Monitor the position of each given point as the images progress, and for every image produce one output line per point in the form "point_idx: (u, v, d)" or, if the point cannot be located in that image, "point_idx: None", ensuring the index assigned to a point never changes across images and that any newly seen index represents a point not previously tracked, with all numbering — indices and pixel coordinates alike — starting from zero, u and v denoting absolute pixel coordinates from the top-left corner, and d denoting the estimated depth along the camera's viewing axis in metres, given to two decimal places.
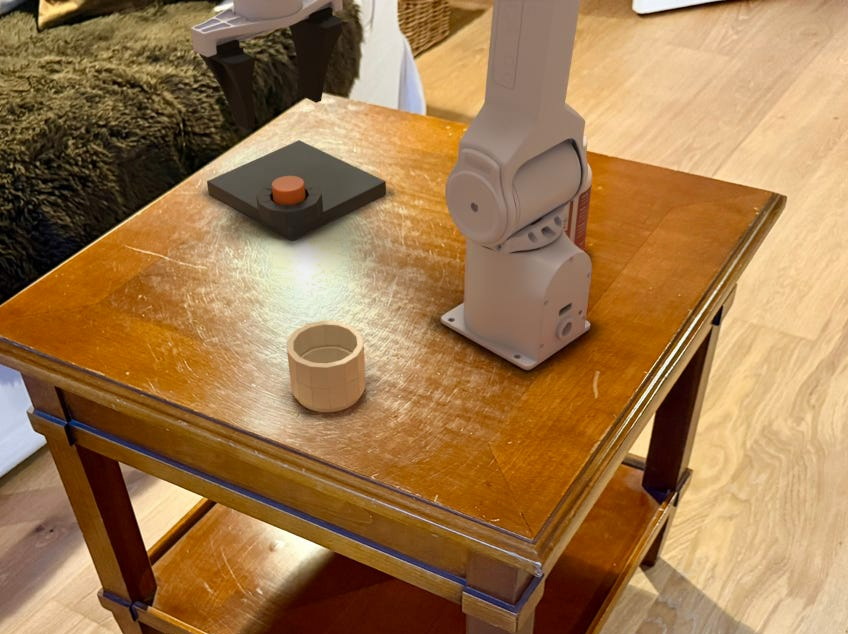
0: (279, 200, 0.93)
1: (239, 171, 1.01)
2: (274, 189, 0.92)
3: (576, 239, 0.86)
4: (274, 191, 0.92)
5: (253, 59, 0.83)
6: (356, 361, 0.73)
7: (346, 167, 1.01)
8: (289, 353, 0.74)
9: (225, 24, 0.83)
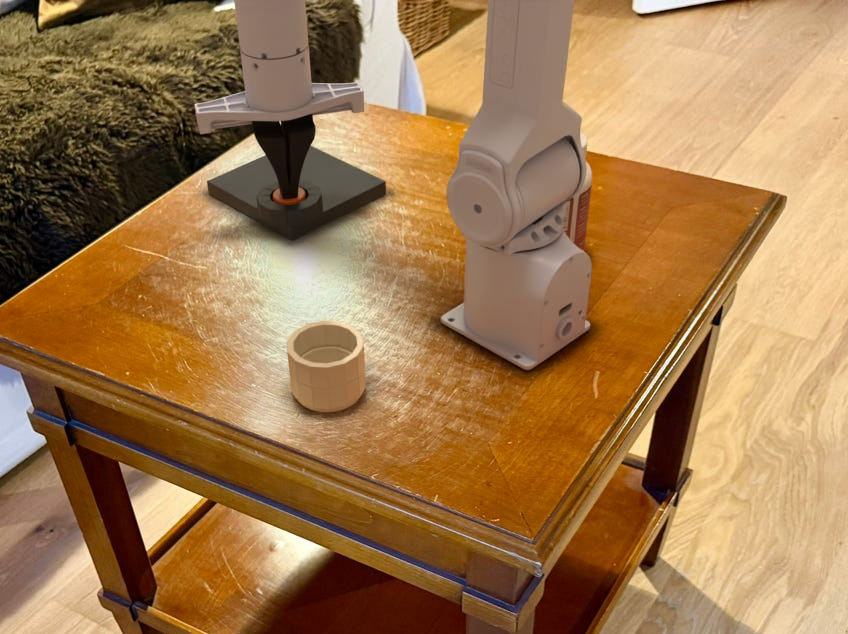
0: None
1: (239, 171, 1.01)
2: (275, 199, 0.93)
3: (576, 239, 0.86)
4: (275, 201, 0.93)
5: (282, 139, 0.87)
6: (356, 361, 0.73)
7: (346, 167, 1.01)
8: (289, 353, 0.74)
9: (225, 107, 0.86)
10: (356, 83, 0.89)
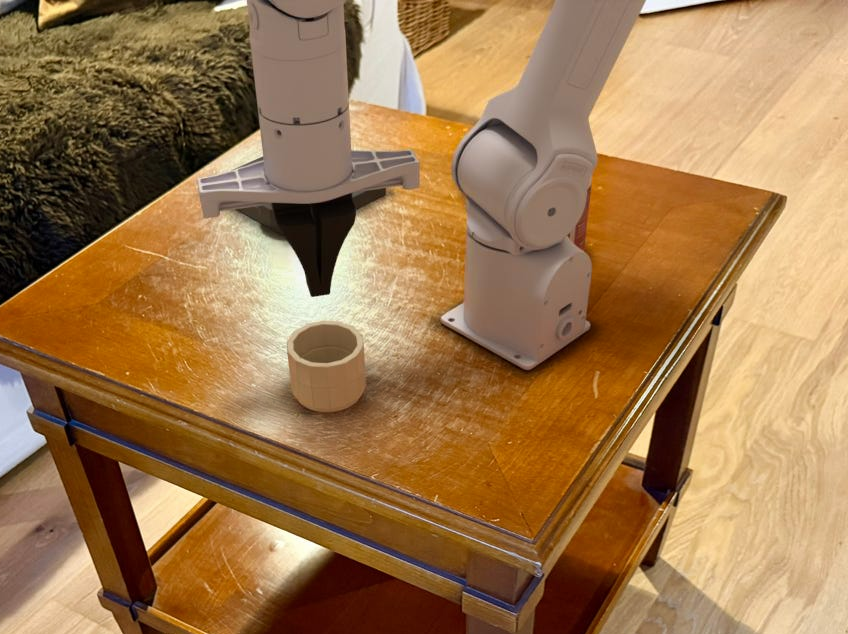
0: None
1: None
2: None
3: (576, 239, 0.86)
4: None
5: (311, 226, 0.66)
6: (356, 361, 0.73)
7: None
8: (289, 353, 0.74)
9: (238, 184, 0.65)
10: (409, 151, 0.68)
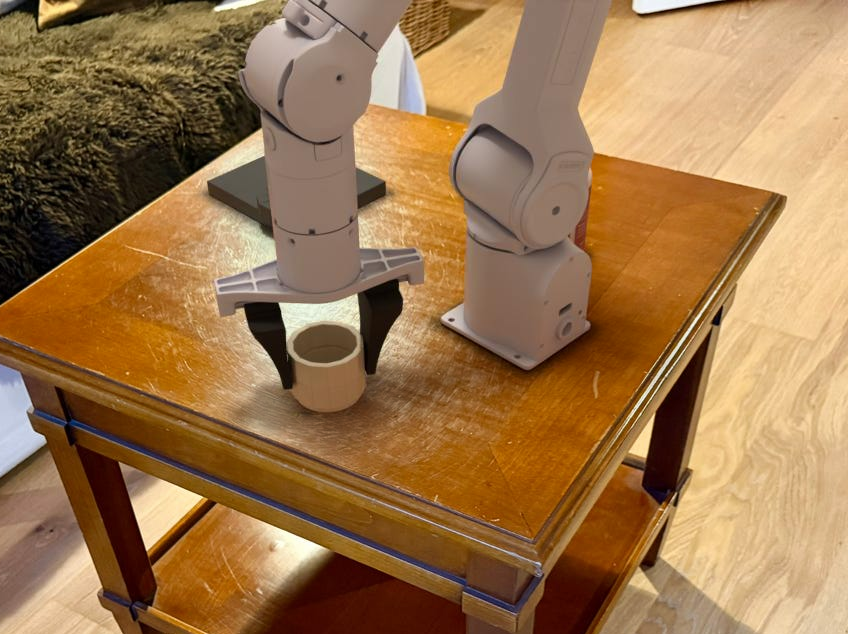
0: None
1: (239, 171, 1.01)
2: None
3: (576, 239, 0.86)
4: None
5: (282, 330, 0.69)
6: (356, 361, 0.73)
7: None
8: (289, 353, 0.74)
9: (252, 284, 0.69)
10: (414, 248, 0.72)
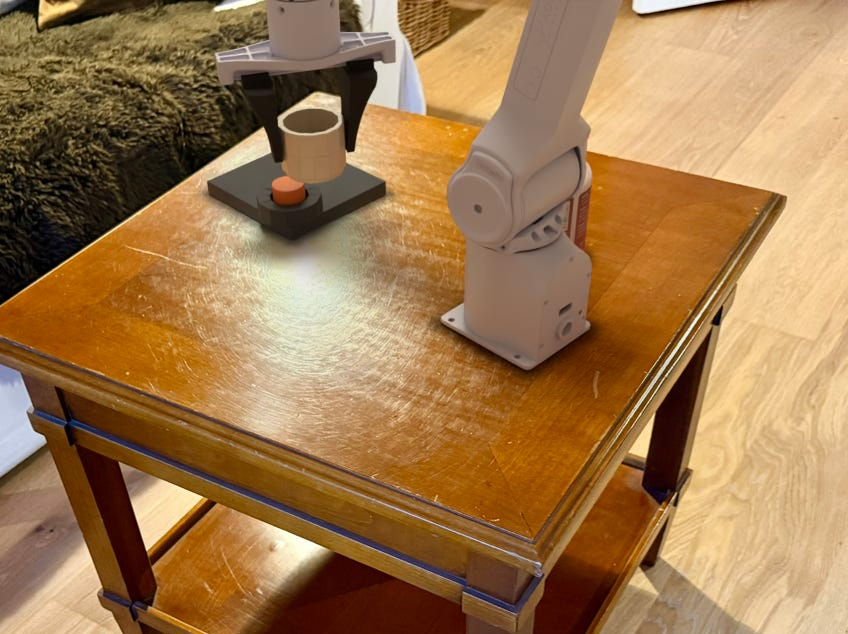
0: (279, 200, 0.93)
1: (239, 171, 1.01)
2: (274, 189, 0.92)
3: (576, 239, 0.86)
4: (274, 191, 0.92)
5: (273, 95, 0.81)
6: (337, 134, 0.85)
7: (346, 167, 1.01)
8: (279, 127, 0.85)
9: (248, 56, 0.81)
10: (387, 32, 0.83)
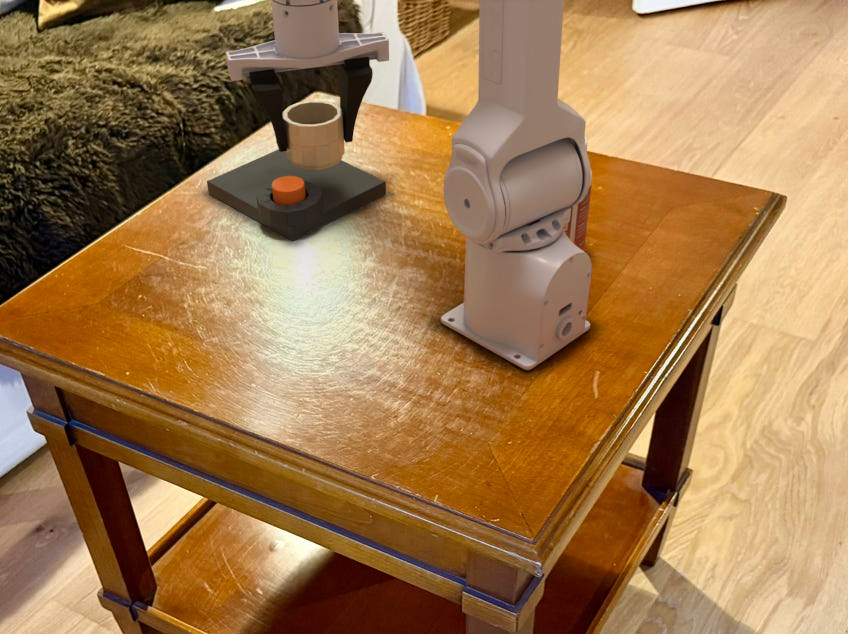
0: (279, 200, 0.93)
1: (239, 171, 1.01)
2: (274, 189, 0.92)
3: (576, 239, 0.86)
4: (274, 191, 0.92)
5: (278, 90, 0.90)
6: (336, 125, 0.94)
7: (346, 167, 1.01)
8: (284, 119, 0.94)
9: (256, 55, 0.90)
10: (381, 33, 0.92)
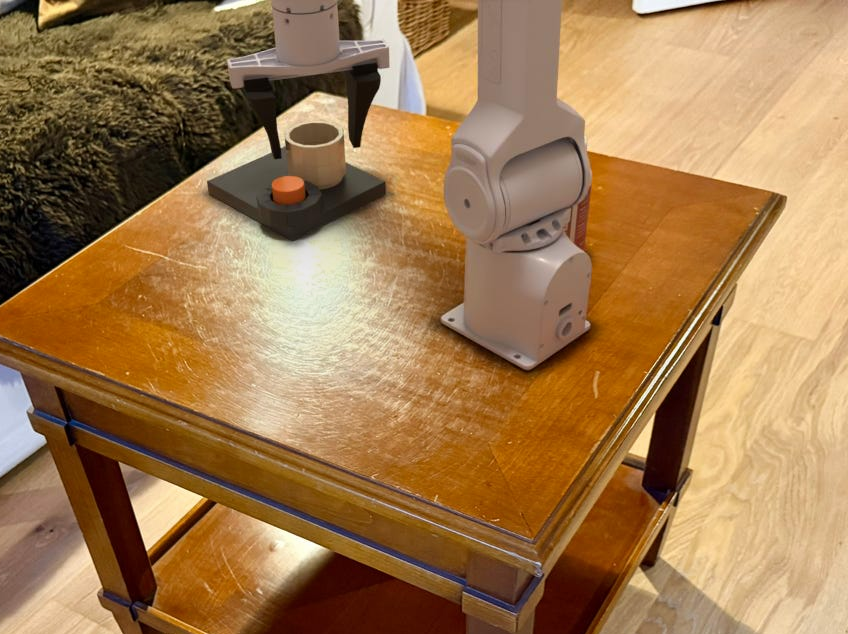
0: (279, 200, 0.93)
1: (239, 171, 1.01)
2: (274, 189, 0.92)
3: (576, 239, 0.86)
4: (274, 191, 0.92)
5: (272, 98, 0.90)
6: (338, 145, 0.95)
7: (346, 167, 1.01)
8: (286, 140, 0.96)
9: (257, 62, 0.90)
10: (381, 40, 0.93)
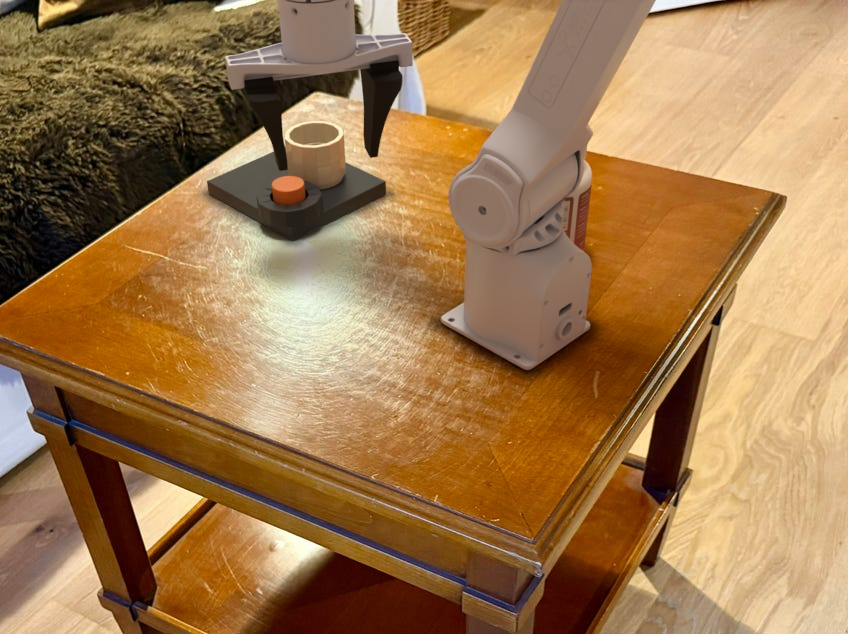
0: (279, 200, 0.93)
1: (239, 171, 1.01)
2: (274, 189, 0.92)
3: (576, 239, 0.86)
4: (274, 191, 0.92)
5: (277, 101, 0.78)
6: (338, 145, 0.95)
7: (346, 167, 1.01)
8: (286, 140, 0.96)
9: (260, 59, 0.78)
10: (403, 34, 0.80)
